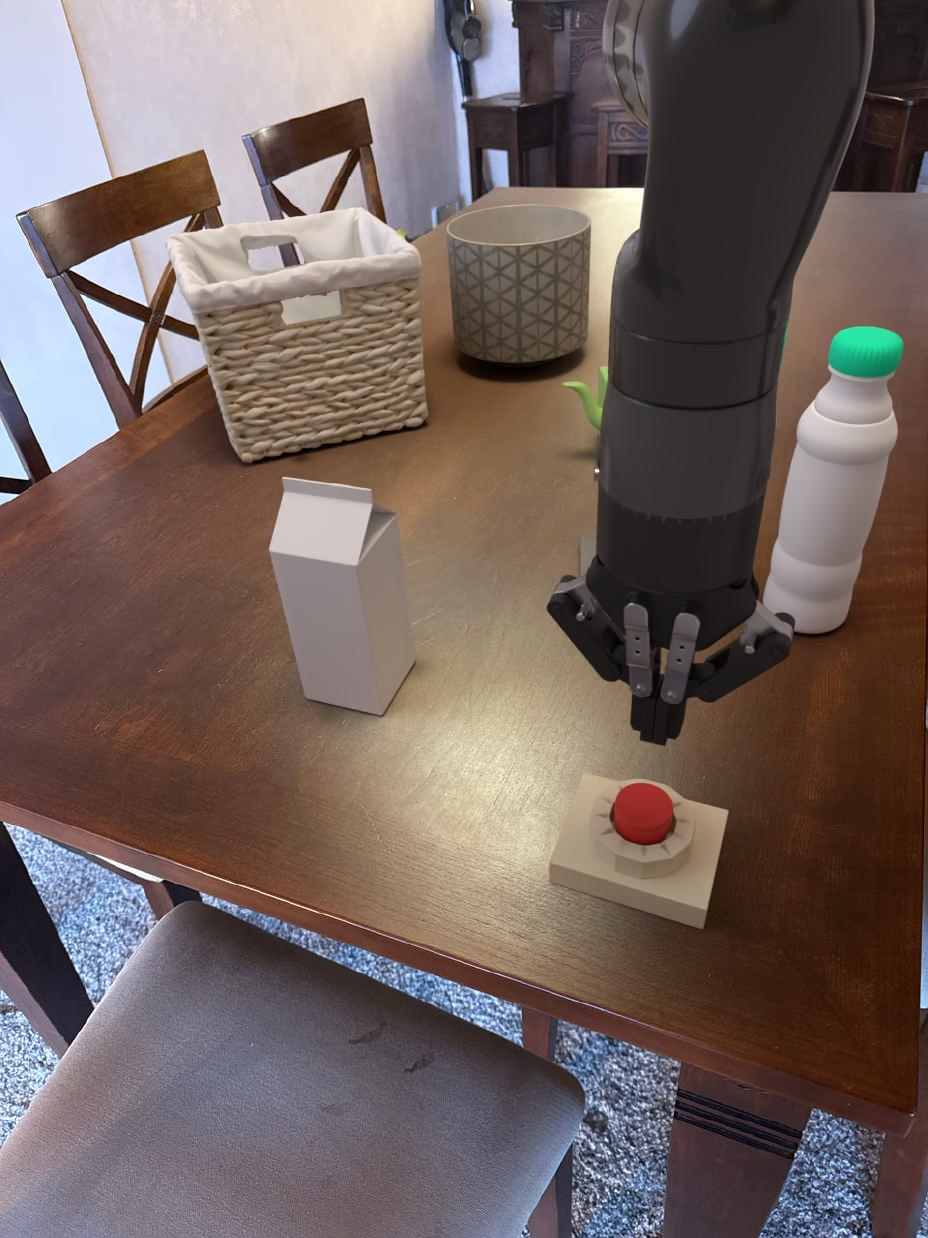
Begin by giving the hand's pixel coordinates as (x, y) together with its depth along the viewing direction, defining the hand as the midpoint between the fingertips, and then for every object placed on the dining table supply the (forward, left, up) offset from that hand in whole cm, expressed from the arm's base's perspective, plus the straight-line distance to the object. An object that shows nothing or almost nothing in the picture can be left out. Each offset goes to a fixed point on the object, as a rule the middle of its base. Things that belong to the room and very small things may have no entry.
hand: (655, 733), depth 50 cm
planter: (-38, -77, -12) cm, 87 cm away
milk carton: (+9, -26, -12) cm, 30 cm away
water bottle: (-28, -13, -12) cm, 33 cm away
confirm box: (0, 0, -12) cm, 12 cm away
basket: (-7, -79, -12) cm, 81 cm away
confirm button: (0, 0, -8) cm, 8 cm away
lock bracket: (-18, -26, -12) cm, 34 cm away
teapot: (-35, -44, -12) cm, 58 cm away
